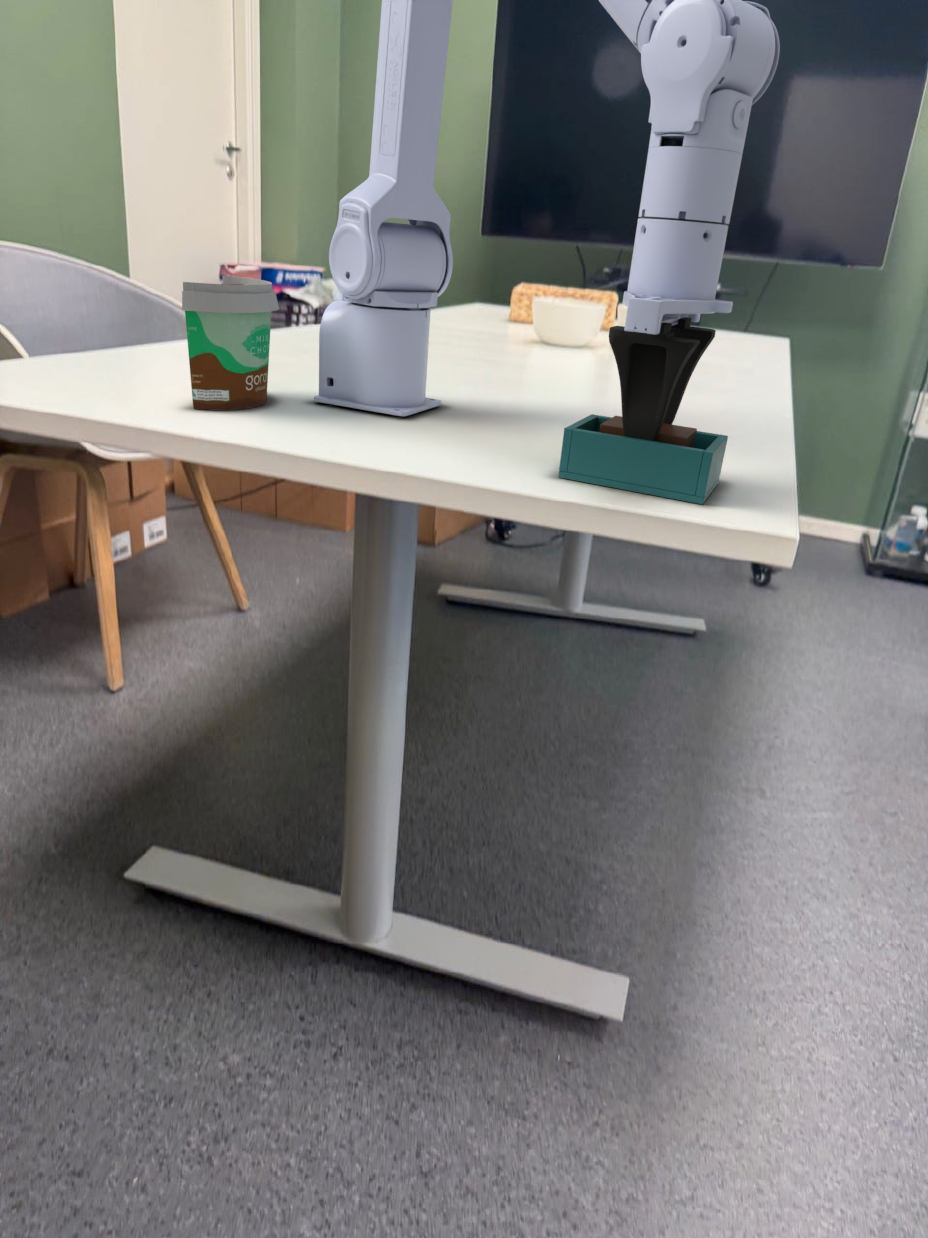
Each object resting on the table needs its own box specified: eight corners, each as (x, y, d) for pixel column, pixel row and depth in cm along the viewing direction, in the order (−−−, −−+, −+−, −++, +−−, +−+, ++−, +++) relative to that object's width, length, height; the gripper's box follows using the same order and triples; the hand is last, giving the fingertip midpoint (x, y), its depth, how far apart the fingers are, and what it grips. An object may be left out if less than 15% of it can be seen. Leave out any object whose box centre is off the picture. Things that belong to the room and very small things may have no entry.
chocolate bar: (596, 452, 60) (600, 423, 59) (611, 442, 63) (615, 415, 62) (681, 467, 58) (686, 437, 57) (691, 456, 61) (697, 428, 60)
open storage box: (557, 477, 60) (564, 428, 59) (585, 459, 66) (591, 413, 64) (702, 504, 57) (713, 452, 55) (718, 483, 62) (728, 435, 61)
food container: (262, 418, 70) (259, 288, 66) (187, 411, 70) (180, 281, 66) (292, 392, 81) (292, 280, 77) (228, 387, 81) (224, 274, 77)
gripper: (730, 221, 47) (684, 464, 52) (760, 231, 59) (720, 426, 65) (606, 212, 49) (574, 445, 55) (660, 223, 61) (629, 412, 67)
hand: (647, 434), depth 60 cm, fingers closed on chocolate bar, 4 cm apart
